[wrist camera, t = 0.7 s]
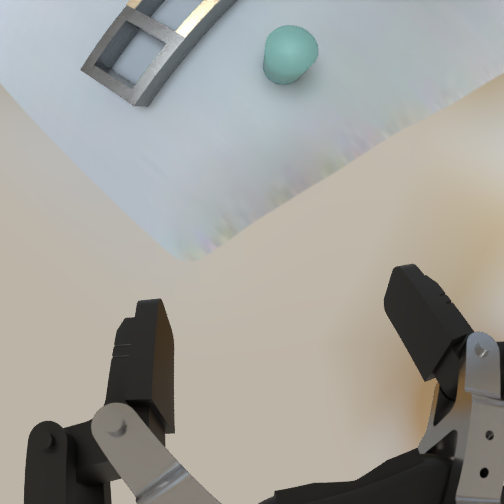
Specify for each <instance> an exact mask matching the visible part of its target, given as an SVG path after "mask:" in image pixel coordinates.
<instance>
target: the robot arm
mask: <svg viewBox="0 0 504 504" xmlns="http://www.w3.org/2000/svg"><path fill="white" fill-rule="evenodd" d="M384 308H385V312H386V314H387V316H388V317H389V319H390V321H391V322H392V324H393V326H394V328H395V329H396V331H397V333H398V334H399V336H400V338H401V339H402V341H403V343H404V345H405V347H406V348H407V350H408V352H409V354H410V355H411V357H412V359H413V361H414V363H415V365H416V366H417V368H418V370H419V372H420V374H421V376H422V378H423V379H424V381H425V382H426V381H428V380H431V379H433V378H436V379H437V381H438V382H437V384H436V386H435V390H434V396H433V401H432V407H431V412H430V417H429V422H428V426H427V430H426V433H425V435H424V437H423V438H422V440H421V442H420V444H419V446H418V448H416V449H414V450H411V451H409V452H406V453H404V454H402V455H399V456H397V457H394V458H392V459H389V460H387V461H385V462H384V463H382V464H381V465H379V466H378V467H377V468H375V469H373V470H372V471H370V472H369V473H367V474H366V475H364V476H362V477H361V478H359V479H357V480H355V481H349V482H332V483H312V484H307V485H303V486H298V487H294V488H288V489H283V490H278V491H275V493H274V496H273V497H271V498H268V499H266V500H264V501H262V502H261V503H259V504H504V486H503V481H504V342H496V341H495V340H494V339H493V338H492V337H491V336H489V335H488V334H486V333H484V332H474V331H473V330H472V328H471V327H470V325H469V324H468V323H467V321H466V320H465V318H464V317H463V316H462V315H461V313H460V312H459V310H458V309H457V308H456V307H455V305H454V304H453V303H451V300H450V299H449V297H448V296H447V295H445V292H444V291H443V290H442V288H441V287H440V286H439V285H438V283H436V282H435V281H433V280H432V279H431V278H429V277H428V276H427V275H424V274H423V273H422V272H421V271H420V269H419V268H418V267H417V266H416V265H415V264H409V265H403V266H397V267H395V268H394V269H393V271H392V274H391V277H390V281H389V284H388V288H387V291H386V294H385V297H384ZM114 345H115V347H114V349H113V354H112V356H113V358H112V360H111V367H110V373H109V380H108V387H107V394H106V400H105V404H104V406H103V407H102V408H100V409H99V410H98V411H97V412H96V414H95V415H94V417H93V419H91V420H89V421H87V422H84V423H81V424H77V425H74V426H70V427H66V428H62V427H61V426H60V425H59V424H57V423H55V422H53V421H44V422H41V423H39V424H38V425H36V426H35V427H34V428H33V429H32V431H31V433H30V435H29V439H28V446H27V457H26V468H25V485H24V504H111V489H110V481H113V480H117V479H121V478H122V479H123V480H124V482H125V483H126V484H127V486H128V487H129V488H130V490H131V491H132V492H133V494H134V495H135V497H136V503H137V504H221V503H220V502H219V501H218V500H217V499H216V498H215V497H213V496H212V495H211V494H210V493H209V492H208V491H207V490H206V489H205V488H204V487H203V486H202V485H201V484H200V483H199V482H198V481H197V480H196V479H195V478H194V477H193V476H191V474H189V472H188V471H187V470H186V469H185V468H184V467H183V466H182V465H181V464H180V463H179V462H178V461H177V460H176V459H175V458H174V457H173V455H172V454H171V453H170V452H169V451H168V450H167V449H166V448H165V434H170V433H175V426H174V339H173V333H172V329H171V326H170V323H169V320H168V317H167V314H166V311H165V308H164V305H163V302H162V300H161V299H151V300H141V301H138V303H137V307H136V313H135V317H134V318H125V319H124V321H123V322H122V324H121V325H120V327H119V328H118V330H117V333H116V338H115V343H114Z"/></svg>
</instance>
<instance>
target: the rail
mask: <svg viewBox="0 0 504 504" xmlns="http://www.w3.org/2000/svg"><path fill="white" fill-rule="evenodd" d="M163 1H164V0H130V1H129V2H128V3H127V4H126V5H127V6H126V7H125V8H124V9H123V11H122V12H121V13H120V14H119V16H118V17H117V18H116V19H115V21H114V22H113V23H112V25H111V26H110V27H109V29H108V30H107V31H106V33H105V34H104V35H103V37H102V38H101V40H100V41H99V42H98V44H97V45H96V47H95V48H94V50H93V51H92V53H91V54H90V56H89V57H88V59H87V60H86V62H85V63H84V65H83V67H82V68H81V71H83V72H84V73H86V74H87V75H89V76H90V77H92V78H93V79H95V80H96V81H98V82H99V83H101V84H102V85H104V86H105V87H107V88H108V89H110V90H111V91H113V92H114V93H116V94H117V95H119V96H120V97H122V98H123V99H125V100H126V101H127V102H129V103H130V104H132V105H133V106H146V107H148V105H149V104H150V102H151V101H152V100H153V98H154V97H155V95H156V94H157V93H158V91H159V90H160V89H161V87H162V86H163V85H164V83H165V82H166V81H167V79H168V78H169V77H170V75H171V74H172V73H173V72H174V70H175V69H176V68H177V66H178V65H179V64H180V63H181V62H182V60H183V59H184V58H185V57H186V55H187V54H188V53H189V52H190V51H191V49H192V48H193V47H194V46H195V45H196V44H197V42H198V41H199V40H200V39H201V38H202V37H203V36H204V34H205V33H206V32H207V31H208V30H209V29H210V28H211V27H212V26H213V25H214V23H215V22H216V21H217V20H218V19H219V18H220V17H221V16H222V15H223V14H224V13H225V12H226V11H227V10H228V9H229V8H230V7H231V6H232V5H233V4H234V3H235V2H236V1H237V0H204V1H203V2H202V3H201V4H200V5H199V6H198V7H197V8H196V9H195V10H194V11H193V12H192V14H191V15H190V16H189V17H188V18H187V19H186V20H185V21H184V22H183V24H182V25H181V26H180V27H179V28H178V29H177V30H176V32H175V31H173V30H171V29H170V28H168V27H166V26H165V25H163V24H161V23H159V22H158V21H156V20H154V19H152V18H150V16H151V15H152V14H153V13H154V11H155V10H156V9H157V8H158V7H159V6H160V5H161V3H162V2H163ZM139 29H141V30H143V31H144V32H146V33H148V34H150V35H151V36H153V37H155V38H156V39H158V40H160V41H161V42H163V43H165V44H166V45H165V46H164V47H163V48H162V50H161V51H160V52H159V54H158V55H157V56H156V57H155V59H154V60H153V61H152V63H151V64H150V65H149V67H148V68H147V69H146V71H145V72H144V73H143V75H142V76H141V77H140V79H139V80H138V82H137V83H136V85H134V84H133V83H131V82H130V81H128V80H127V79H125V78H124V77H122V76H121V75H119V74H118V73H116V72H115V71H113V70H111V67H112V66H113V65H114V63H115V62H116V60H117V59H118V57H119V56H120V55H121V53H122V52H123V50H124V49H125V48H126V46H127V45H128V44H129V42H130V41H131V40H132V38H133V37H134V36H135V35H136V33H137V32H138V31H139Z"/></svg>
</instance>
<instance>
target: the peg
mask: <svg viewBox="0 0 504 504" xmlns="http://www.w3.org/2000/svg"><path fill="white" fill-rule="evenodd" d="M317 56H318V45H317V42H316V40H315V38H314V37H313V36H312V35H311V34H310V33H309V32H308V31H307V30H305V29H303V28H301V27H298V26H282V27H279V28H277V29H276V30H274V31H273V32H272V33H271V34H270V35H269V36H268V38H267V40H266V45H265V53H264V63H263V69H264V72H265V74H266V76H267V77H268V78H269V79H270V80H271V81H273V82H274V83H277V84H290V83H292V82H294V81H296V80H297V79H298V78H299V77H300V76H301V75H302V74H303V73H304V72H305V71H306V70H307V69H308V68H309V67H310V66H311V65H312V64H313V63H314V62H315V60H316V58H317Z"/></svg>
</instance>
